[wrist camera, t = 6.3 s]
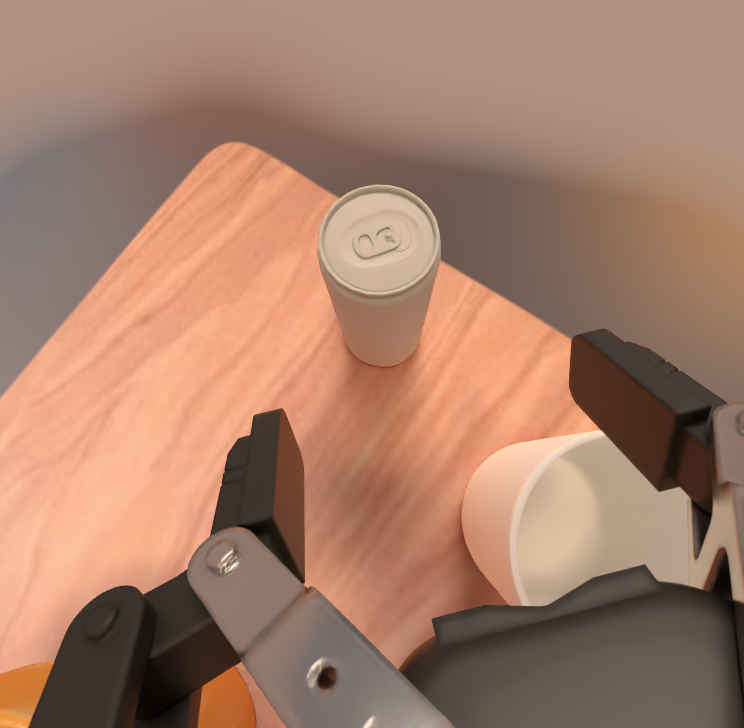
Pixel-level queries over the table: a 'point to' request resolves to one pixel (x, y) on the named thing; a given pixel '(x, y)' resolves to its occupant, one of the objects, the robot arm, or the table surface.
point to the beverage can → (380, 270)
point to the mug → (569, 518)
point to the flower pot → (217, 709)
